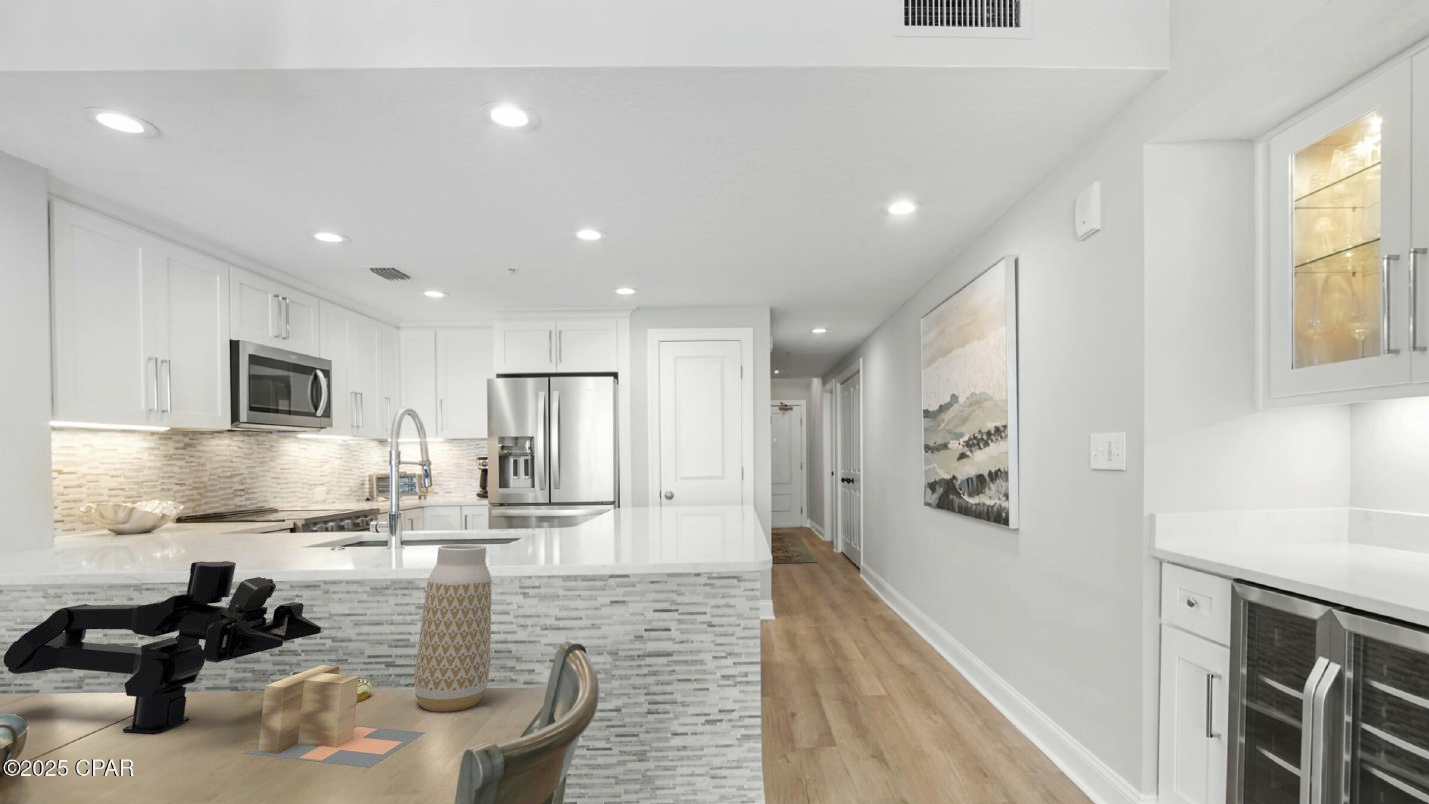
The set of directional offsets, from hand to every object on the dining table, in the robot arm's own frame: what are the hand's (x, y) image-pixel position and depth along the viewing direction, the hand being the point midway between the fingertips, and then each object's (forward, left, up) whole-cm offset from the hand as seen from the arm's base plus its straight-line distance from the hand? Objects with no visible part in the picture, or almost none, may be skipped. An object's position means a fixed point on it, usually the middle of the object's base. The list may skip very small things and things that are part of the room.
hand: (302, 636), depth 112 cm
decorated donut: (-3, +17, -17) cm, 24 cm away
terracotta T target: (+14, -3, -16) cm, 22 cm away
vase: (+19, +18, -17) cm, 31 cm away
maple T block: (+6, -2, -16) cm, 17 cm away
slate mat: (+10, -3, -16) cm, 20 cm away
